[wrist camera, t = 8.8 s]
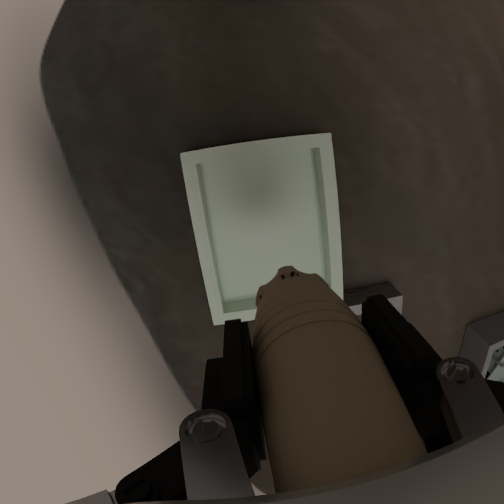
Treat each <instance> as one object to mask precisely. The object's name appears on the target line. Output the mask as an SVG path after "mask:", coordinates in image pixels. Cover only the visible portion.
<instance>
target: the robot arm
mask: <svg viewBox="0 0 504 504" xmlns="http://www.w3.org/2000/svg"><path fill="white" fill-rule="evenodd" d="M361 323H362V325H363V326H364V328H365V329H366V331H367V332H368V334H369V335H370V337H371V339H372V340H373V342H374V344H375V345H376V347H377V349H378V351H379V353H380V355H381V357H382V359H383V361H384V363H385V365H386V367H387V369H388V371H389V373H390V375H391V377H392V379H393V381H394V383H395V385H396V387H397V389H398V391H399V393H400V395H401V398H402V400H403V402H404V404H405V406H406V408H407V410H408V413H409V415H410V417H411V419H412V421H413V423H414V425H415V428H416V430H417V432H418V434H419V436H420V438H421V440H422V442H423V444H424V446H425V449H426V451H427V453H428V454H426V455H423V456H421V457H418V458H416V459H413V460H410V461H407V462H405V463H402V464H399V465H396V466H393V467H390V468H387V469H383V470H380V471H377V472H374V473H370V474H367V475H363V476H359V477H356V478H352V479H348V480H344V481H340V482H336V483H331V484H327V485H322V486H317V487H312V488H307V489H301V490H296V491H289V492H283V493H276V494H268V495H260V496H255V495H254V491H253V489H252V485H251V482H250V478H251V477H252V476H253V475H254V474H255V473H256V472H257V471H258V470H261V467H260V460H266V451H265V441H264V432H263V424H262V419H261V414H260V409H259V404H258V398H257V393H256V386H255V376H254V364H253V351H252V345H251V340H250V334H249V328H248V323H247V322H241V319H233V320H226V321H225V327H224V348H223V358H214V359H208V360H207V362H206V371H205V380H204V389H203V398H202V408H201V410H199V411H196V412H194V413H192V414H190V415H188V416H187V417H186V418H185V419H184V420H183V421H182V423H181V425H180V428H179V437H180V441H178V442H177V443H175V444H174V445H172V446H171V447H169V448H168V449H167V450H165V451H164V452H162V453H161V454H159V455H158V456H156V457H155V458H153V459H152V460H150V461H149V462H147V463H146V464H144V465H143V466H141V467H139V468H138V469H137V470H135V471H133V472H132V473H130V474H128V475H127V476H126V477H124V478H123V479H122V480H121V481H120V482H119V483H118V485H117V486H116V490H114V491H112V492H108V491H107V490H104V491H102V492H98V493H96V494H93V495H90V496H87V497H85V498H82V499H79V500H76V501H73V502H70V503H66V504H504V382H499V381H494V380H489V379H484V377H483V376H482V374H481V372H480V371H479V369H478V367H477V366H476V365H475V364H474V363H473V362H472V361H470V360H468V359H465V358H462V357H450V358H447V359H444V360H442V359H441V358H440V356H439V355H438V354H437V353H436V352H435V350H434V349H433V348H432V347H431V346H430V345H429V344H428V342H427V341H426V340H425V339H424V338H423V337H422V335H421V334H420V333H419V332H418V331H417V330H416V329H415V328H414V326H413V325H412V324H410V323H408V322H407V321H406V319H405V318H404V317H403V316H402V315H401V314H400V313H399V312H398V310H397V309H396V308H395V307H394V306H393V305H392V304H391V303H390V302H389V301H388V299H387V298H386V297H385V296H384V295H383V294H378V295H373V296H369V297H367V298H366V301H364V302H362V321H361Z"/></svg>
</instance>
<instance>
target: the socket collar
mask: <svg viewBox="0 0 504 504" xmlns="http://www.w3.org/2000/svg"><path fill="white" fill-rule="evenodd" d="M378 294H383V295H384V296H385V297H386V298H387V299H388V301H389V302H390V303H391V304H392V305H393V306H394V307H395V308H396V309H397V310H398V312H399V313H400V314H402V300H403V295H402V294H401V293H400V292H399V291H398V290H397V289H396V288H395V287H394V286H393V285H392V284H391V283H390V282H386V283H381V284H376V285H371V286H366V287H361V288H355V289H350V290H345V291H343V301H344V302H345V303H346V304H347V305H348V306H349V308H350V309H351V310H352V311H353V312H354V314H355V315H360V314H362V302H364V301H366V298H367V297H369V296H373V295H378Z"/></svg>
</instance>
